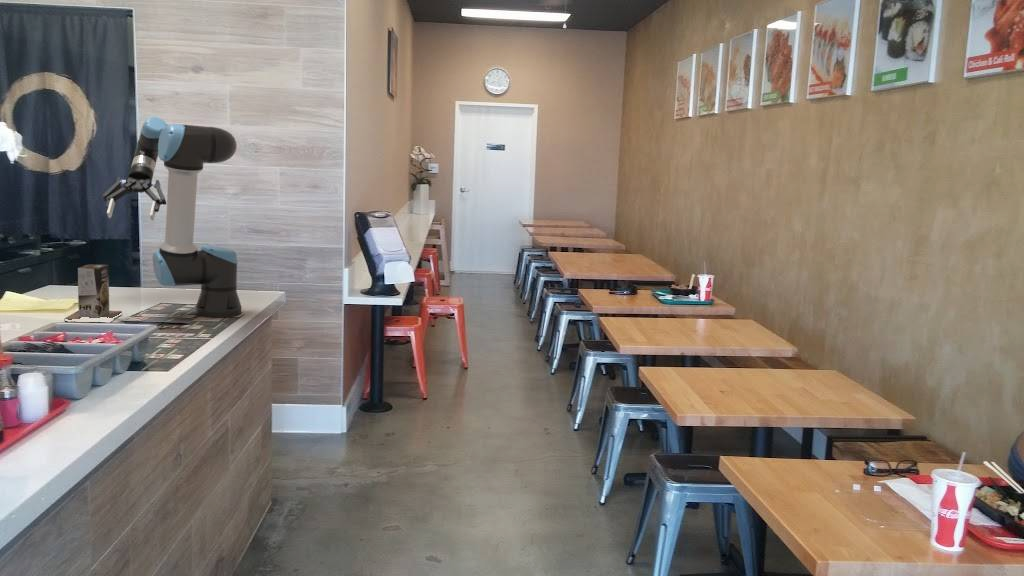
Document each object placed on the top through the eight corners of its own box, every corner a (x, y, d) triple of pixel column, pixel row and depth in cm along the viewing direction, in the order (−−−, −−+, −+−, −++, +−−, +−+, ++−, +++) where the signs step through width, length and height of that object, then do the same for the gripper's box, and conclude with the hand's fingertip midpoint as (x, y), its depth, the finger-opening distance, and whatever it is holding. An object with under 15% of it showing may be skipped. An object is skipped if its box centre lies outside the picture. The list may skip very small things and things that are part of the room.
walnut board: (121, 314, 253) (121, 311, 253) (109, 323, 240) (109, 319, 240) (79, 313, 250) (79, 309, 250) (64, 322, 238) (64, 318, 238)
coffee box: (99, 318, 241) (98, 268, 238) (77, 317, 240) (76, 267, 237) (110, 312, 250) (109, 264, 247) (89, 311, 249) (88, 263, 246)
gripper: (180, 180, 277) (171, 225, 265) (107, 175, 272) (93, 221, 260) (177, 166, 271) (167, 211, 259) (101, 161, 266) (87, 207, 254)
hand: (130, 216), depth 260 cm, fingers open, 13 cm apart
